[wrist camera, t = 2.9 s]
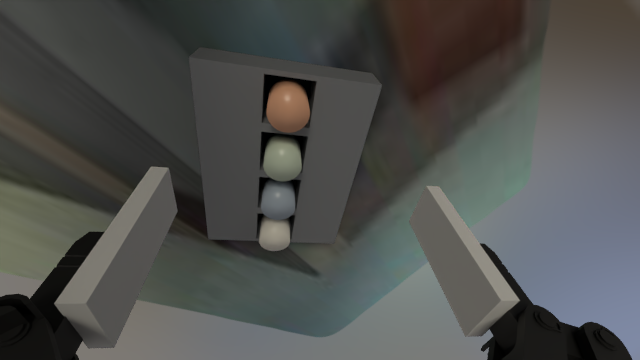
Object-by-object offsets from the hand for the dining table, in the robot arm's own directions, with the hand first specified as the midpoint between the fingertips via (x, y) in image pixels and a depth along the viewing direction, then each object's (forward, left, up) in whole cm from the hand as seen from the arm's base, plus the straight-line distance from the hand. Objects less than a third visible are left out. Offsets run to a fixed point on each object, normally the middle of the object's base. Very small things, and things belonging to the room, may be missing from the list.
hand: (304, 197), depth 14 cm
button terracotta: (-1, -1, -17) cm, 17 cm away
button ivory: (-1, -19, -17) cm, 25 cm away
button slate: (-1, -13, -17) cm, 21 cm away
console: (-1, -10, -20) cm, 22 cm away
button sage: (-1, -7, -17) cm, 18 cm away
